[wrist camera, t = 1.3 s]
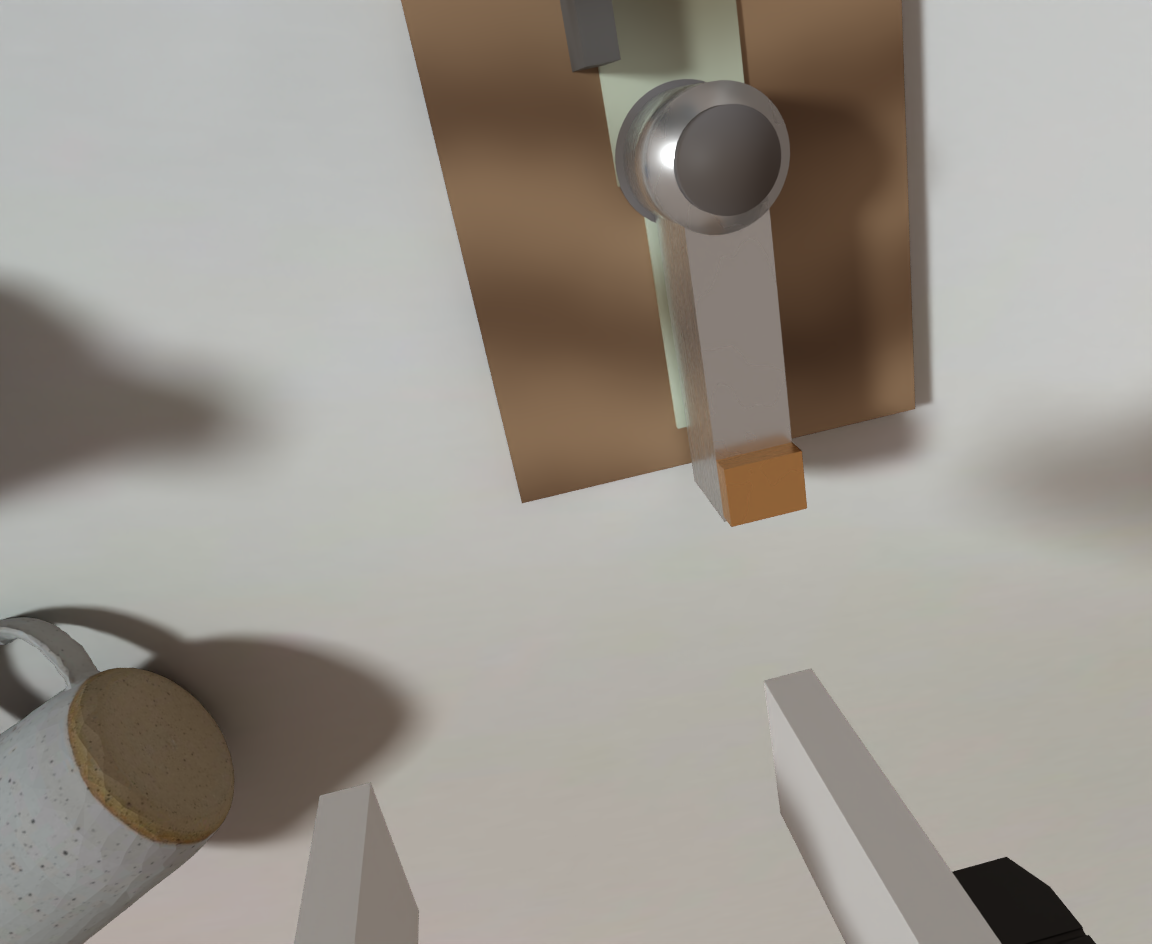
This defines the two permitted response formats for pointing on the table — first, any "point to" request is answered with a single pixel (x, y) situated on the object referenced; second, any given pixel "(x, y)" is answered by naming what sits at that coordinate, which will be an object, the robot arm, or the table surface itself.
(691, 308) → the swing bar
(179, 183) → the table surface
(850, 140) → the lock board
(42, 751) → the ceramic mug
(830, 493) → the table surface
